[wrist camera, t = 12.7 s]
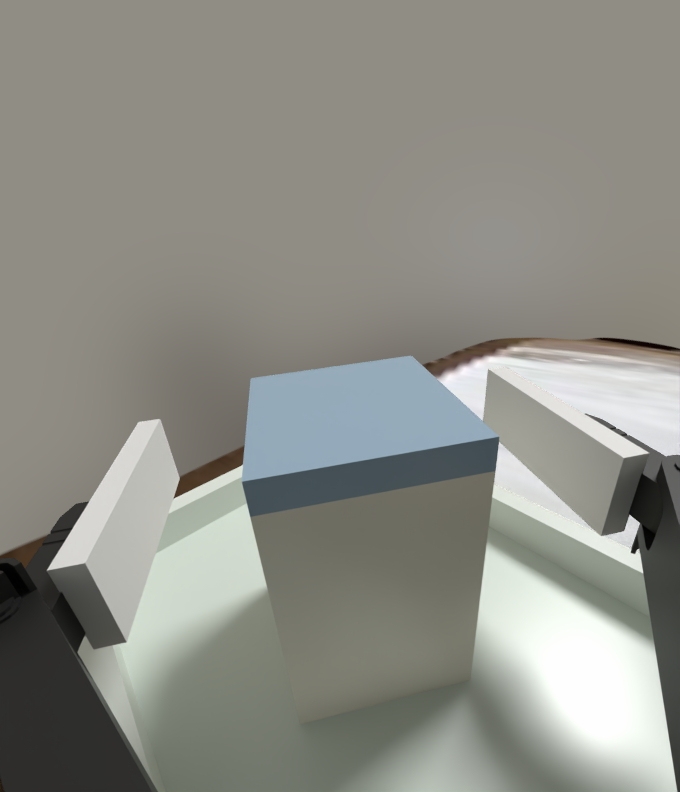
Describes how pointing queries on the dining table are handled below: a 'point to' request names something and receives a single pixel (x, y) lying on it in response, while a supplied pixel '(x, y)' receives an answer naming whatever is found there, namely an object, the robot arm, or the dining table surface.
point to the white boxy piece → (369, 528)
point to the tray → (405, 717)
